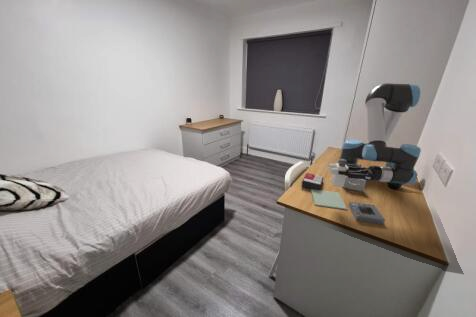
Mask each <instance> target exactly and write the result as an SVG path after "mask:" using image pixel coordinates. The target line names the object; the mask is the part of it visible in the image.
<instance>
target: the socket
mask: <svg viewBox="0 0 476 317" xmlns="http://www.w3.org/2000/svg"><path fill="white" fill-rule="evenodd" d="M348 207H349V210H350V212H351V214H352V215H353V217H354V218H355V220H356V221H358V222H359V221H360V222H365V223H372V224H379V225H384V224H385V222H386V219H385V218H384V216H383V215H382V214H381V213H380V210H378V208H377V206H376V205H375V204H370V203H369V204H368V203H362V202H355V201H354V202H353V201H349V203H348ZM362 211H364V212H369V213H362Z"/></svg>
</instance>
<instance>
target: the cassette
mask: <svg viewBox="0 0 476 317" xmlns="http://www.w3.org/2000/svg"><path fill="white" fill-rule="evenodd" d="M366 183H367V180H364V179H355V178H348V176H346V179H345V183H344V187H343V188H344V189H349V190H354V191H359V192H364V190H365V187H366Z"/></svg>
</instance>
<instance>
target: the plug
mask: <svg viewBox="0 0 476 317" xmlns="http://www.w3.org/2000/svg"><path fill="white" fill-rule="evenodd" d="M339 159H340V158H339ZM339 159H338V161H339V163H337V162H335V163H334V164H335V166H334V169H343V170H348V169H349V168H348V167H347V165H346V162H347V160H345V159H340V160H339ZM345 172H346V171H345ZM345 179H346V176H345V175H338V174H332V175H331V180H330V182H331V185H332V186H333V187H341V188H344V183H345Z"/></svg>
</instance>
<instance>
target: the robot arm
mask: <svg viewBox="0 0 476 317" xmlns="http://www.w3.org/2000/svg"><path fill="white" fill-rule="evenodd" d="M420 98H421V88H420V86H419V85H417V84H410V83H389V82H388V83H387V82H386V83H381V84H377V86H375V87H373V88H372V89H371V90H370V92H369V93H368V94H367V95H366V98H365V102H364V103H365V104H364V106H365V109H367V110H366V112H367V116H366V117H367V142H366V143H365V142H363V140H361V139H360V140H359V139H347V140H345V141H344V142H343V144H342V146H341V153H340V155H339V159H338V161H337V162H336V163H339V160H340V159H345V160H347V162H346V165H347V167H348V168H349V169H348V170H343V169H334V166H335V163H329V164H328V167H327V169H328V170H330V175H331V174H332V175H333V174H338V175H345V176H348V178H355V179H364V180H366V181H372V182H373V181H375V182H381V183H385V182H386V183H393V184H401V185H412V184H414V183H416V182H417V180H418V172H417V171H416V170H415V166H416V164H417V162H418V160H419V157H420V155H421V151H422V149H421V147H419V146H417V145H415V144H410V143H409V144H408V143H406V144H405V143H402V144H401V145H400V147H392V146H388V144H387V142H389V139H390V137H391V136H392V134H393V132H394V130H395V128H396V126H397V124H398V122H399V120H401V117H402V115H403V114H404V113H406V112H408V111H409V109H410V108H414V107H416V106H417V105H418V104H419V101H420ZM359 160H360V161H361V160H362V161H369V162H378V163H379V162H380V163H381V162H382V163H390V164H393V167H391V166H379V165H369V166H368V167H365V166H362V165H361V164H358V161H359ZM345 171H346V172H345Z"/></svg>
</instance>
